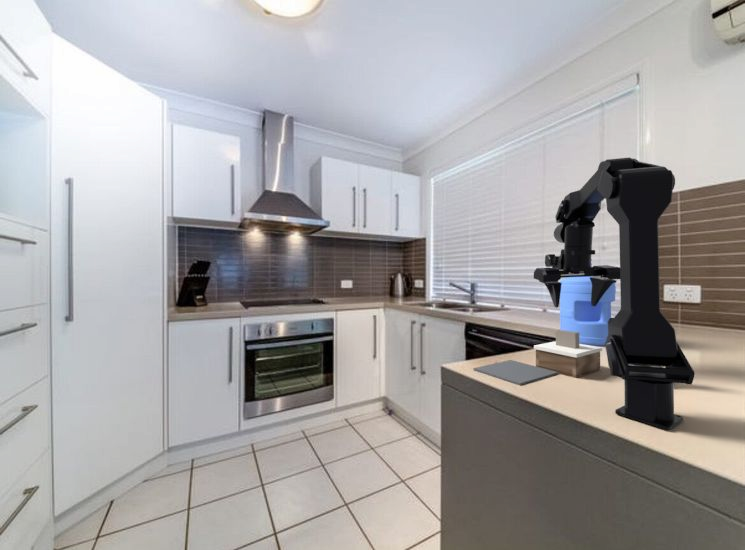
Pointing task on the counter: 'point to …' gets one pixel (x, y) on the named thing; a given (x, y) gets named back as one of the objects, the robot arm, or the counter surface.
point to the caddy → (568, 363)
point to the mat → (515, 372)
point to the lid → (568, 345)
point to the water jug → (585, 310)
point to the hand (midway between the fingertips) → (574, 306)
